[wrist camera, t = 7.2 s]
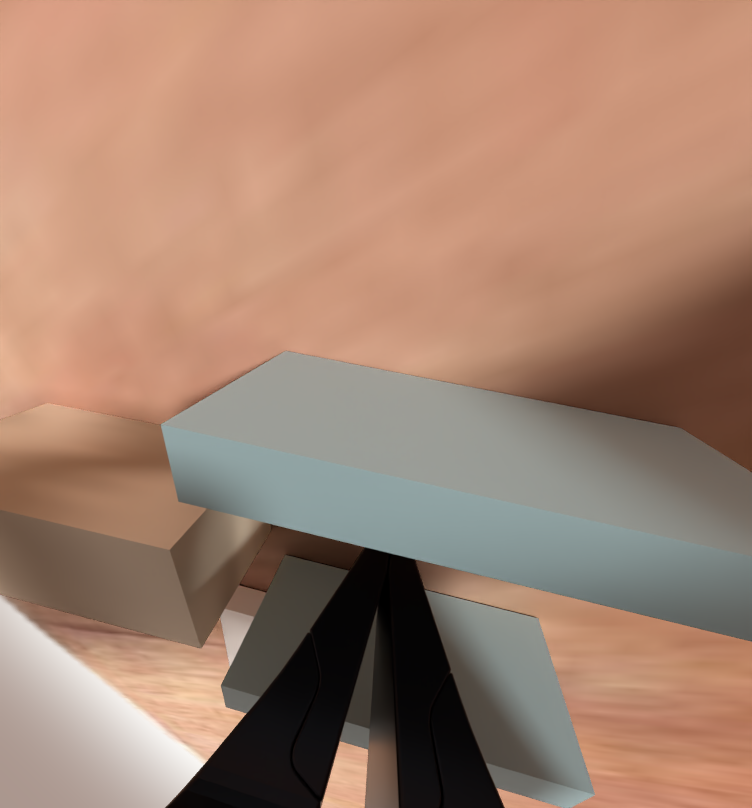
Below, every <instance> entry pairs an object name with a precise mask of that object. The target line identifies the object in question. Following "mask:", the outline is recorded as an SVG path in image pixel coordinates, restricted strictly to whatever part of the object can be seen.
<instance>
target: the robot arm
mask: <svg viewBox="0 0 752 808" xmlns="http://www.w3.org/2000/svg"><path fill="white" fill-rule="evenodd" d="M377 607H378V608H377ZM376 610H377V619H376V635H375V651H374V667H373V683H372V699H371V716H370V732H369V748H368V764H367V780H366V796H365V808H505V807H504V805H503V803H502V800H501V798H500V796H499V793H498V791H497V788H496V786H495V784H494V781H493V779H492V777H491V774H490V772H489V769H488V767H487V765H486V762H485V760H484V757H483V755H482V752H481V750H480V747H479V745H478V742H477V740H476V737H475V735H474V732H473V730H472V727H471V724H470V722H469V719H468V716H467V713H466V710H465V708H464V705H463V702H462V699H461V696H460V693H459V690H458V687H457V684H456V681H455V678H454V675H453V673H450V672H451V667H450V664H449V661H448V658H447V655H446V652H445V649H444V646H443V643H442V640H441V637H440V634H439V631H438V628H437V625H436V622H435V619H434V616H433V613H432V610H431V607H430V604H429V601H428V598H427V595H426V592H425V589H424V586H423V582H422V579H421V576H420V573H419V570H418V567H417V564H416V561H415V559H412V558H408V557H403V556H399V555H395V554H391V553H387V552H383V551H379V550H375V549H371V548H367V547H365V548H364V549H363V551H362V552H361V554H360V555H359V557H358V558H357V560H356V561H355V563H354V564H353V566H352V567H351V569H350V570H349V572H348V573H347V575H346V576H345V578H344V579H343V581H342V582H341V584H340V585H339V587H338V588H337V590H336V591H335V593H334V594H333V596H332V597H331V599H330V600H329V602H328V603H327V605H326V606H325V608H324V609H323V611H322V612H321V613H320V615H319V616H318V618H317V619H316V621H315V622H314V624H313V625H312V627H311V628H310V632H308V633H307V634H306V636H305V637H304V639H303V640H302V642H301V643H300V644H299V646H298V647H297V649H296V650H295V652H294V653H293V655H292V656H291V657H290V659H289V660H288V662H287V663H286V664H285V666H284V667H283V669H282V670H281V671H280V673H279V674H278V675H277V676H276V678H275V679H274V680H273V682H272V683H271V684H270V685H269V687H268V688H267V689H266V691H265V692H264V693H263V694H262V696H261V697H260V698H259V699H258V700H257V702H256V703H255V704H254V705H253V707H252V708H251V709H250V710H249V711H248V713H247V714H246V715H245V716H244V717H243V719H242V720H241V721H240V722H239V723H238V725H237V726H236V727H235V728H234V729H233V731H232V732H231V733H230V734H229V735H228V737H227V738H226V739H225V740H224V741H223V743H222V744H221V745H220V746H219V748H218V749H217V750H216V751H215V752H214V754H213V755H212V756H211V757H210V758H209V760H208V761H207V762H206V763H205V764H204V765H203V767H202V768H201V769H200V770H199V771H198V772H197V774H196V775H195V776H194V777H193V778H192V779H191V780H190V782H189V783H188V784H187V785H186V786H185V787H184V788H183V789H182V790H181V792H180V793H179V794H178V795H177V796H176V797H175V798H174V799H173V800H172V801H171V802H170V803H169V804H168V805H167V806H166V807H165V808H321V806H322V802H323V799H324V795H325V792H326V788H327V785H328V781H329V778H330V774H331V770H332V767H333V763H334V760H335V756H336V753H337V749H338V746H339V742H340V738H341V735H342V731H343V728H344V724H345V721H346V717H347V714H348V710H349V707H350V703H351V699H352V696H353V692H354V689H355V685H356V682H357V678H358V675H359V671H360V667H361V664H362V660H363V657H364V653H365V650H366V646H367V643H368V639H369V635H370V632H371V628H372V625H373V621H374V618H375V614H376Z"/></svg>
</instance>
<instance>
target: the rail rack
mask: <svg viewBox="0 0 752 808" xmlns="http://www.w3.org/2000/svg"><path fill="white" fill-rule="evenodd" d="M161 428H162V433H163V437H164V441H165V446H166V450H167V454H168V458H169V463H170V467H171V471H172V476H173V480H174V484H175V489H176V493H177V497H178V502H182V503H186V504H190V505H194V506H199V507H203V508H207V509H211V510H215V511H219V512H223V513H227V514H231V515H235V516H240V517H244V518H248V519H252V520H256V521H260V522H264V523H268V524H272V525H276V526H281V527H285V528H289V529H293V530H297V531H301V532H305V533H309V534H313V535H317V536H321V537H326V538H330V539H334V540H338V541H342V542H346V543H350V544H354V545H358V546H362V547H367V548H371V549H375V550H379V551H383V552H387V553H391V554H395V555H399V556H403V557H408V558H412V559H416V560H420V561H424V562H428V563H432V564H436V565H440V566H444V567H449V568H453V569H457V570H461V571H465V572H469V573H473V574H477V575H481V576H485V577H489V578H494V579H498V580H502V581H506V582H510V583H514V584H518V585H522V586H526V587H530V588H535V589H539V590H543V591H547V592H551V593H555V594H559V595H563V596H567V597H571V598H576V599H580V600H584V601H588V602H592V603H596V604H600V605H604V606H608V607H612V608H617V609H621V610H625V611H629V612H633V613H637V614H641V615H645V616H649V617H653V618H658V619H662V620H666V621H670V622H674V623H678V624H682V625H686V626H690V627H694V628H698V629H703V630H707V631H711V632H715V633H719V634H723V635H727V636H731V637H735V638H739V639H744V640H748V641H752V472H750V471H749V470H747V469H746V468H744V467H742V466H741V465H739V464H738V463H736V462H734V461H733V460H731V459H730V458H728V457H726V456H725V455H723V454H722V453H720V452H718V451H717V450H715V449H714V448H712V447H710V446H709V445H707V444H706V443H704V442H702V441H701V440H699V439H698V438H696V437H694V436H693V435H691V434H690V433H688V432H686V431H685V430H683V429H682V428H678V427H673V426H668V425H663V424H658V423H653V422H648V421H642V420H637V419H632V418H627V417H622V416H617V415H612V414H607V413H601V412H596V411H591V410H586V409H581V408H576V407H571V406H566V405H560V404H555V403H550V402H545V401H540V400H535V399H530V398H525V397H519V396H514V395H509V394H504V393H499V392H494V391H489V390H484V389H479V388H473V387H468V386H463V385H458V384H453V383H448V382H443V381H438V380H432V379H427V378H422V377H417V376H412V375H407V374H402V373H397V372H391V371H386V370H381V369H376V368H371V367H366V366H361V365H356V364H350V363H345V362H340V361H335V360H330V359H325V358H320V357H315V356H310V355H304V354H299V353H294V352H289V351H284V352H283V353H281V354H279V355H278V356H276V357H274V358H273V359H271V360H269V361H267V362H266V363H264V364H262V365H261V366H259V367H257V368H256V369H254V370H252V371H250V372H249V373H247V374H245V375H244V376H242V377H240V378H239V379H237V380H235V381H233V382H232V383H230V384H228V385H227V386H225V387H223V388H222V389H220V390H218V391H217V392H215V393H213V394H211V395H210V396H208V397H206V398H205V399H203V400H201V401H200V402H198V403H196V404H194V405H193V406H191V407H189V408H188V409H186V410H184V411H183V412H181V413H179V414H177V415H176V416H174V417H172V418H171V419H169V420H167V421H166V422H164V423H162V424H161ZM348 572H349V571H348V570H344V569H340V568H336V567H332V566H328V565H324V564H320V563H316V562H312V561H308V560H304V559H300V558H296V557H292V556H288V555H285V556H284V558H283V560H282V562H281V564H280V566H279V568H278V570H277V572H276V574H275V576H274V578H273V580H272V582H271V584H270V586H269V588H268V590H267V593H266V595H265V597H264V599H263V601H262V603H261V605H260V607H259V609H258V611H257V613H256V615H255V617H254V619H253V621H252V623H251V625H250V627H249V629H248V631H247V633H246V635H245V637H244V639H243V642H242V644H241V646H240V648H239V650H238V652H237V654H236V656H235V658H234V660H233V662H232V664H231V666H230V668H229V670H228V672H227V674H226V676H225V678H224V680H223V682H222V684H221V688H222V692H223V696H224V701H225V705H226V707H227V708H231V709H234V710H238V711H241V712H244V713H248V711H249V710H250V709H251V708H252V707H253V705H254V704H255V703H256V702H257V700H258V699H259V698H260V697H261V696H262V694H263V693H264V692H265V691H266V689H267V688H268V687H269V685H270V684H271V683H272V682H273V680H274V679H275V678H276V676H277V675H278V674H279V673H280V671H281V670H282V669H283V667H284V666H285V664H286V663H287V662H288V660H289V659H290V657H291V656H292V655H293V653H294V652H295V650H296V649H297V647H298V646H299V644H300V643H301V642H302V640H303V639H304V637H305V636H306V634H307V633H308V632H310V628H311V627H312V625H313V624H314V622H315V621H316V619H317V618H318V616H319V615H320V613H321V612H322V611H323V609H324V608H325V606H326V605H327V603H328V602H329V600H330V599H331V597H332V596H333V594H334V593H335V591H336V590H337V588H338V587H339V585H340V584H341V582H342V581H343V579H344V578H345V576H346V575H347V573H348ZM425 592H426V595H427V598H428V601H429V604H430V607H431V610H432V613H433V616H434V619H435V622H436V625H437V628H438V631H439V634H440V637H441V640H442V643H443V646H444V649H445V652H446V655H447V658H448V661H449V664H450V667H451V672H450V673H453V675H454V678H455V681H456V684H457V687H458V690H459V693H460V696H461V699H462V702H463V705H464V708H465V710H466V713H467V716H468V719H469V722H470V724H471V727H472V730H473V732H474V735H475V737H476V740H477V742H478V745H479V747H480V750H481V752H482V755H483V757H484V760H485V762H486V765H487V767H488V769H489V772H490V774H491V777H492V779H493V781H494V784H495V786H496V788H499V789H502V790H506V791H509V792H512V793H516V794H519V795H522V796H526V797H529V798H532V799H536V800H539V801H543V802H546V803H549V804H553V805H556V806H559V807H563V808H571V807H573V806H575V805H577V804H579V803H581V802H583V801H585V800H586V799H588V798H590V797H592V796H594V795H595V793H594V790H593V787H592V784H591V780H590V777H589V774H588V771H587V768H586V765H585V762H584V759H583V756H582V753H581V749H580V746H579V743H578V740H577V737H576V734H575V731H574V728H573V725H572V722H571V719H570V715H569V712H568V709H567V706H566V703H565V700H564V697H563V694H562V691H561V688H560V684H559V681H558V678H557V675H556V672H555V669H554V666H553V663H552V660H551V657H550V654H549V650H548V647H547V644H546V641H545V638H544V635H543V632H542V629H541V626H540V623H539V619H538V618H535V617H531V616H527V615H523V614H519V613H515V612H511V611H507V610H503V609H499V608H495V607H491V606H487V605H483V604H479V603H475V602H471V601H467V600H463V599H459V598H455V597H451V596H447V595H443V594H439V593H435V592H431V591H427V590H425ZM377 608H378V607H377ZM376 619H377V610H376V614H375V618H374V621H373V625H372V628H371V632H370V635H369V639H368V643H367V646H366V650H365V653H364V657H363V660H362V664H361V667H360V671H359V675H358V678H357V682H356V685H355V689H354V692H353V696H352V699H351V703H350V707H349V710H348V714H347V717H346V721H345V724H344V728H343V731H342V735H341V738H340V741H341V742H345V743H348V744H351V745H355V746H358V747H362V748H365V749H368V748H369V732H370V716H371V699H372V683H373V667H374V651H375V635H376Z"/></svg>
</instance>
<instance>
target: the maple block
mask: <svg viewBox="0 0 752 808" xmlns="http://www.w3.org/2000/svg"><path fill="white" fill-rule="evenodd" d="M270 531H271V524H268V523H264V522H260V521H256V520H252V519H248V518H244V517H240V516H235V515H231V514H227V513H223V512H219V511H215V510H211V509H207V508H203V507H199V506H194V505H190V504H186V503H182V502H178V497H177V493H176V489H175V484H174V480H173V476H172V471H171V467H170V463H169V458H168V454H167V450H166V446H165V441H164V437H163V433H162V428H161V425H159V424H154V423H149V422H144V421H139V420H133V419H128V418H123V417H118V416H113V415H108V414H103V413H97V412H92V411H87V410H82V409H77V408H72V407H67V406H62V405H56V404H51V403H46V404H43V405H40V406H38V407H35V408H32V409H29V410H26V411H23V412H21V413H18V414H15V415H12V416H9V417H7V418H4V419H1V420H0V595H4V596H7V597H11V598H15V599H19V600H22V601H26V602H30V603H33V604H37V605H41V606H45V607H48V608H52V609H56V610H59V611H63V612H67V613H71V614H74V615H78V616H82V617H85V618H89V619H93V620H97V621H100V622H104V623H108V624H111V625H115V626H119V627H123V628H126V629H130V630H134V631H137V632H141V633H145V634H149V635H152V636H156V637H160V638H163V639H167V640H171V641H175V642H178V643H182V644H186V645H189V646H193V647H197V648H202V647H203V645H204V643H205V642H206V640H207V638H208V636H209V635H210V633H211V631H212V630H213V628H214V626H215V625H216V623H217V621H218V620H219V618H220V616H221V614H222V613H223V611H224V609H225V608H226V606H227V604H228V603H229V601H230V599H231V597H232V596H233V594H234V592H235V591H236V589H237V587H238V586H239V584H240V582H241V581H242V579H243V577H244V575H245V574H246V572H247V570H248V569H249V567H250V565H251V564H252V562H253V560H254V558H255V557H256V555H257V553H258V552H259V550H260V548H261V547H262V545H263V543H264V542H265V540H266V538H267V536H268V535H269V533H270Z"/></svg>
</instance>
